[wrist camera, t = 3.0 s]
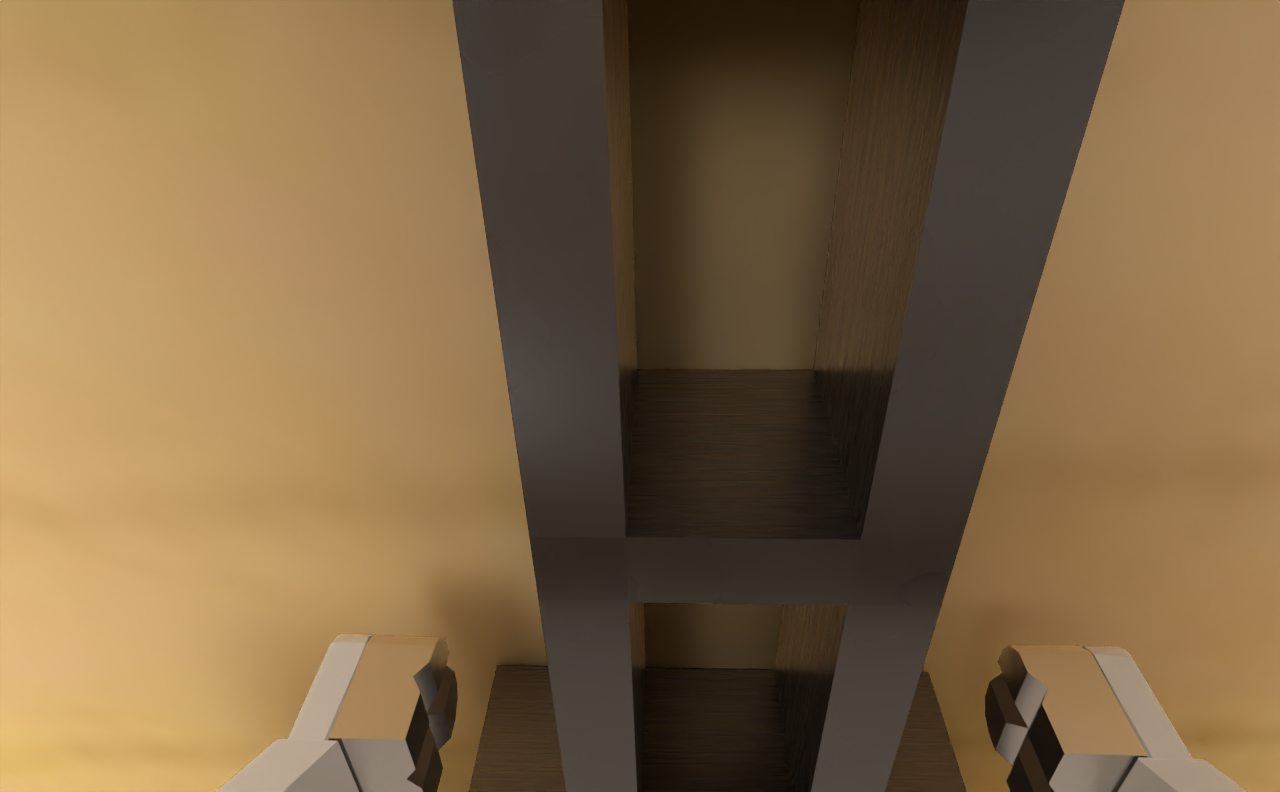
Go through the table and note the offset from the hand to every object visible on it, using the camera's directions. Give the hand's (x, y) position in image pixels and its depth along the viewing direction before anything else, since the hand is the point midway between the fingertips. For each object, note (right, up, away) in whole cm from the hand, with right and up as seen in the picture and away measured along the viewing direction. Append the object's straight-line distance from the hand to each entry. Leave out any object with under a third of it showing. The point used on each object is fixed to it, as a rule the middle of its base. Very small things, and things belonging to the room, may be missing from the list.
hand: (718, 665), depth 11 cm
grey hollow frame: (0, +1, +2) cm, 2 cm away
